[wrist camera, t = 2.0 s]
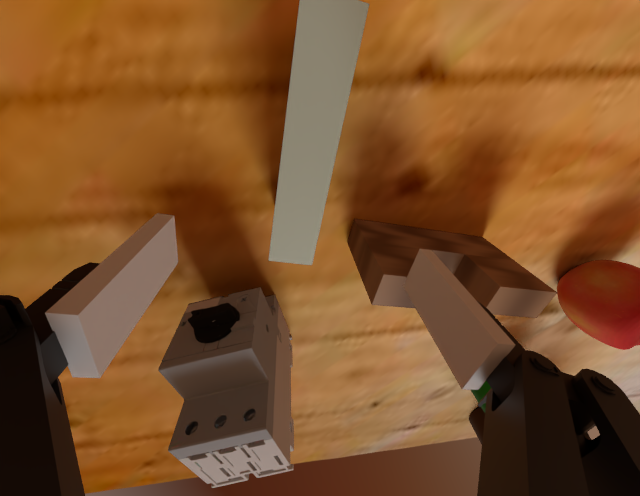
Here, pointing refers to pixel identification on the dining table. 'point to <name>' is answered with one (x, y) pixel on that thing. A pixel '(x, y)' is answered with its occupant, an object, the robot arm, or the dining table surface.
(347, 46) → the grey panel
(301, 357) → the dining table surface
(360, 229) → the brown notched flat block
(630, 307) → the apple
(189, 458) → the circuit breaker
